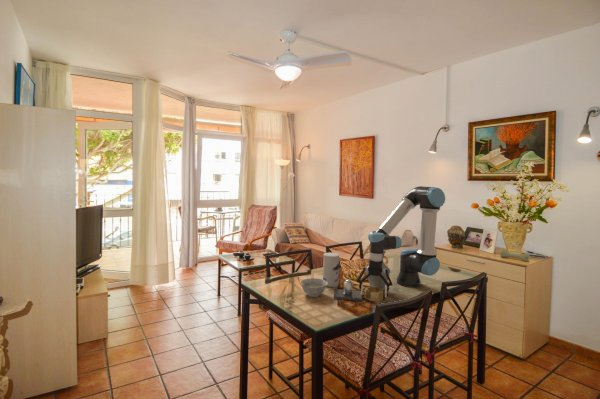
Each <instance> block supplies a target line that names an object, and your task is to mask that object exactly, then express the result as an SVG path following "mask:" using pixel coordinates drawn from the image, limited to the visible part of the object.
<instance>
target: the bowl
mask: <svg viewBox="0 0 600 399" xmlns="http://www.w3.org/2000/svg"><path fill="white" fill-rule="evenodd" d="M299 283H300V286H301V288H302V291H303V292H305V294H307V296H308V297H311V298H317V297H320V295H321V294H323V293H324V292H325V290H326V289H327V284H328V283H327V281H325V280H323V278H318V277H316V278H314V277H313V278H312V277H311V278H310V277H309V278H304V279H302V280H301V281H300V282H299Z"/></svg>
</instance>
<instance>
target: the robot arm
mask: <svg viewBox="0 0 600 399" xmlns="http://www.w3.org/2000/svg"><path fill="white" fill-rule="evenodd" d="M445 202H446V195H445V192H444V191H443V190H442V189H441V188H440V187H435V186H421V185H420V186H415V187H414V188H412V189H411V190H409V191H408V192H407V193H406V194H405V195H404V196H403V197H402V198H401V202H399V204H398V205H397V206H396V207H395V208H394V209H393V211H392V212H391V213H389V215H388V216H387V218H386V219H385V220H383V222H382V223H381V224H380V226H379V227H378V228H377V229H376V230H372V231H370V232H369V234H368V236H367V239H368V241H369V243H370V244H369V257H368V258H369V260H368V265H369V267H368V268H367V266H363V267H362V270H361V271H360V273H359V275H358V277H357V279H356V283H358V284H359V285H358V288H359V290H360V291H361V295H362V296H363V290H364V288H363V287H364V284H363V283H364V282H365V281H366V280H368V277H369V276H370V275H372V276H380V277H381V278H382V280H383V281H384V282H385V284H386V285H385V287H384V298H386V299H387V296H388V295H387V293H389V291H390V286H393V282H392V279H391V277H390V274H389V275H388V270H387V268H385V269H382V262H384V257H383V250H384V251H385V250H397V249H400V248H401V246H402V242H403V241H402V238H401V237H400V236H399V235H390V234H391V233H392V232H393V230H394V229H395V228H396V227H397V226H398V225H399V224H400V223H401V221H402V220H403V219H404V218H405V217H406V215H408V214H409V212H411V210H413V209H415V208H416V207H417V206H419V209H420V210H421V221H420V235H419V247H418V249H417V248H403V249H401V251H400V259H399V261H400V262H399V273H398V275H397V278H396V284H398V285H400V286H402V287H406V288H407V287H408V288H418V287H420V286H421V283H422V282H421V278H420V277H421V276H420V274H422V275H425V276H428V277H432V276H434V275H436V273H438V271H439V270H440V268H441V267H440V266H441V263H440V260H439V258H437V252H435V243H436V230H437V216H438V212H439V211H441V207H442V206H444V204H445ZM382 260H383V261H382ZM366 270H368V271H369V272H368V273H366ZM382 271H384V273H386V276H387V278H388V280H387V281H386V280H385V278H384V277H383V276H382V274H381V273H382ZM365 273H366V274H365ZM419 273H420V274H419ZM364 274H365V275H364Z"/></svg>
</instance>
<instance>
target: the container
mask: <svg viewBox="0 0 600 399" xmlns="http://www.w3.org/2000/svg"><path fill="white" fill-rule="evenodd" d="M322 262H323V265H322V266H323V268H322V280H325V281H327V283H328V284H327V286H326V288H335V287H338V286H339V279H340V278H339V272H340V253H336V252H324V253H323V261H322Z"/></svg>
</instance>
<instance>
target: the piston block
mask: <svg viewBox="0 0 600 399" xmlns="http://www.w3.org/2000/svg"><path fill="white" fill-rule="evenodd" d="M353 283H354V282H353V281H352V279H348V278H347V279H345V280H344V281H343V289H337V288H335V289H334V291H333V300H345V301H355V302H356V301H358V302H359V301H360V302H363V294H362V295H361V290H353Z"/></svg>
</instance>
